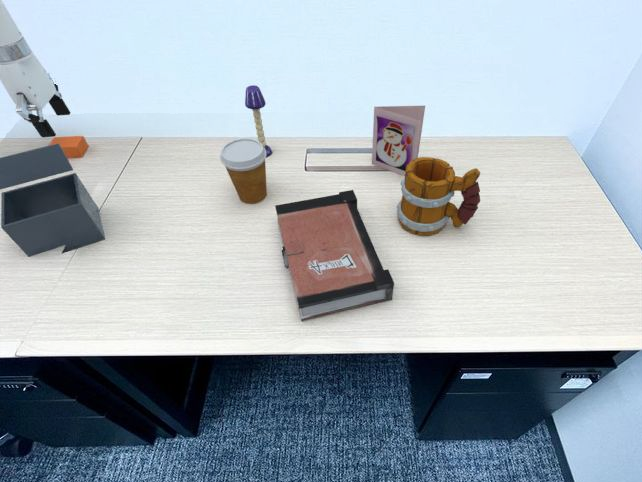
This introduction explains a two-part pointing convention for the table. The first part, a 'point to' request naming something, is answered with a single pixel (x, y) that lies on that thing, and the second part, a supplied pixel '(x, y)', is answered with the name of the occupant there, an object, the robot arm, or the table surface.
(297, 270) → the book
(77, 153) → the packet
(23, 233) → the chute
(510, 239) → the table surface
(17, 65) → the robot arm
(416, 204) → the mug
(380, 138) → the greeting card
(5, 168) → the flap
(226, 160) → the disposable coffee cup
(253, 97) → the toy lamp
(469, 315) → the table surface
